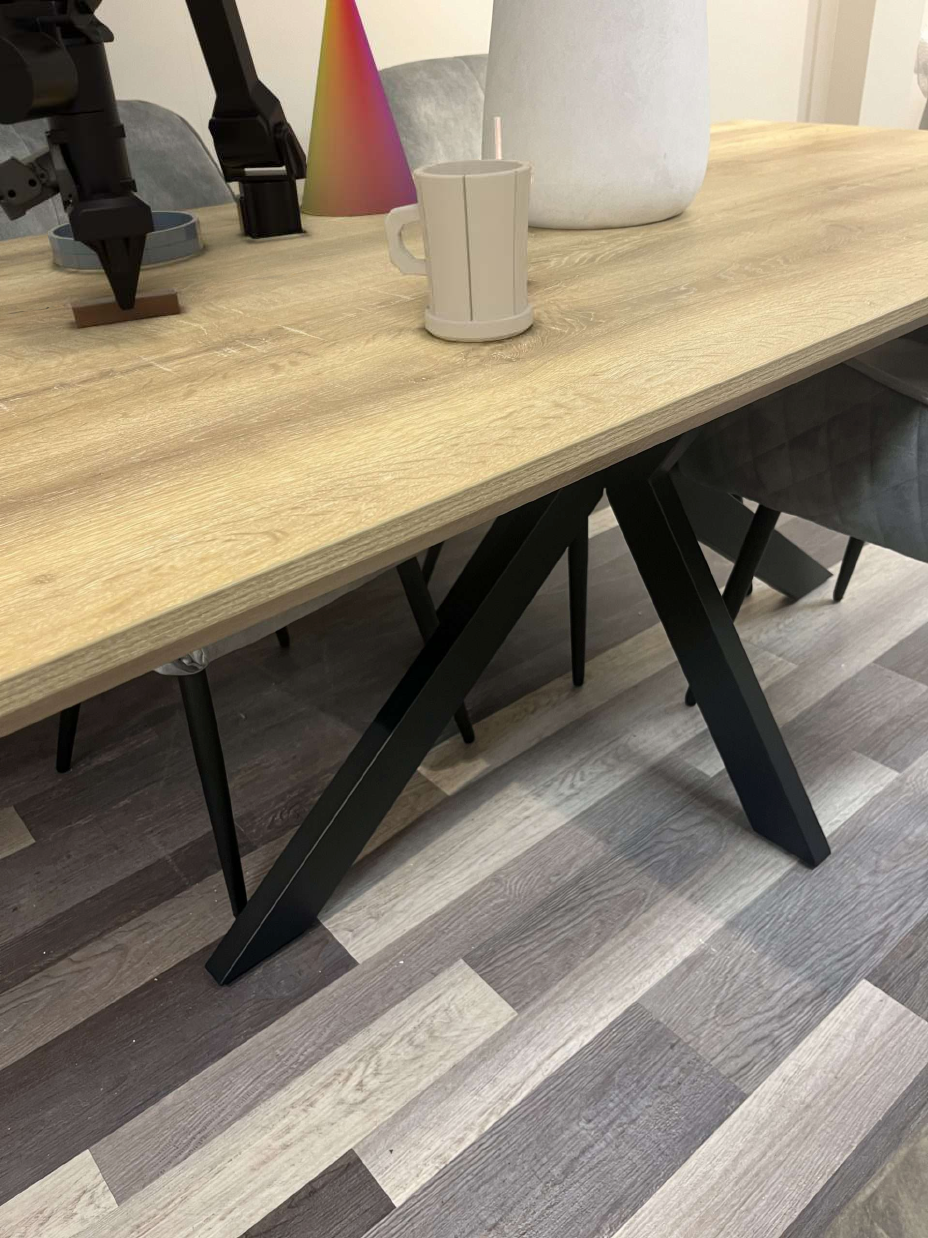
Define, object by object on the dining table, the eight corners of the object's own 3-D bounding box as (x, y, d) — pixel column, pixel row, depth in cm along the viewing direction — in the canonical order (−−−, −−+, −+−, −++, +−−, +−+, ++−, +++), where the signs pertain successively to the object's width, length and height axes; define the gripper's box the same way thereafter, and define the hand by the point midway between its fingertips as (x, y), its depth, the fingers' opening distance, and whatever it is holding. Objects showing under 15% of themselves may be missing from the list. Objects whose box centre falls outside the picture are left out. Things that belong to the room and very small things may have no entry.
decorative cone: (276, 210, 134) (238, -59, 118) (361, 191, 144) (337, -59, 128) (359, 219, 125) (330, -71, 109) (444, 198, 135) (428, -70, 119)
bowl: (192, 236, 121) (186, 205, 119) (214, 260, 108) (208, 226, 106) (53, 253, 116) (45, 221, 114) (59, 280, 103) (50, 245, 102)
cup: (436, 354, 75) (424, 182, 68) (387, 327, 82) (373, 169, 75) (554, 330, 79) (553, 165, 72) (498, 306, 86) (493, 154, 79)
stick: (177, 308, 91) (173, 288, 90) (180, 312, 90) (176, 292, 89) (76, 323, 88) (70, 302, 87) (77, 327, 87) (71, 307, 86)
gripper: (-23, 112, 85) (28, 296, 94) (-29, 129, 70) (33, 347, 79) (110, 101, 89) (148, 280, 97) (132, 115, 74) (175, 326, 82)
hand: (126, 306), depth 88 cm, fingers closed on stick, 2 cm apart
